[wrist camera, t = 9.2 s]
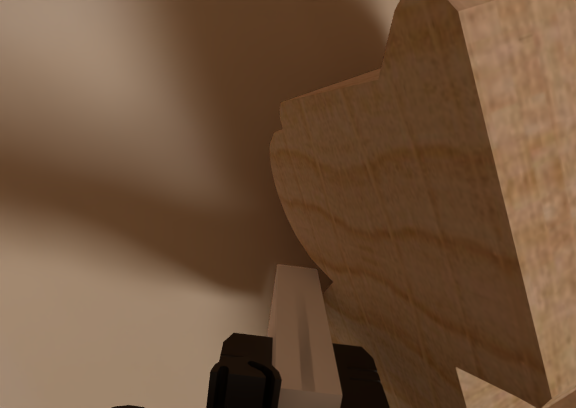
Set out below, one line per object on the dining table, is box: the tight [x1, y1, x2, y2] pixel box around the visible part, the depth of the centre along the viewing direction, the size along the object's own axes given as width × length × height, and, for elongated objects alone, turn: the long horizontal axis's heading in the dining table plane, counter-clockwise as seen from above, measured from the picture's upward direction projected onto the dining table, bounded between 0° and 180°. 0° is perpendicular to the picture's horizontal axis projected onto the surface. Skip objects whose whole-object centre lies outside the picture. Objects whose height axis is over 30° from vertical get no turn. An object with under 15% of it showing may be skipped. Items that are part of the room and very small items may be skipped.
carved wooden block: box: [269, 0, 576, 408], centre depth 13 cm, size 6×17×10 cm, turn 17°
